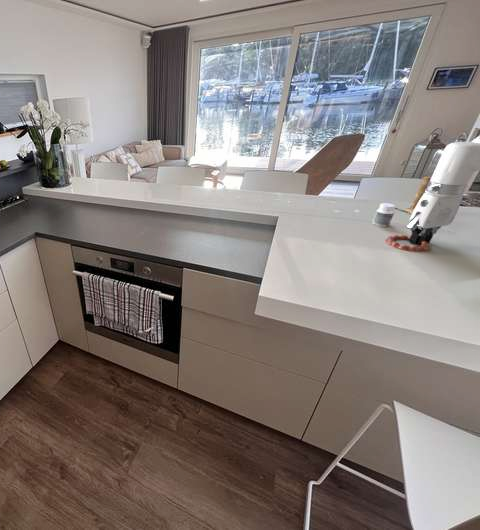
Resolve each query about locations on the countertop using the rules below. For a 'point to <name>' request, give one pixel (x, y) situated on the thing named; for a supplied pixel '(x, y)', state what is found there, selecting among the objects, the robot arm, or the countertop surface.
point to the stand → (419, 193)
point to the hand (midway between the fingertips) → (417, 244)
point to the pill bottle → (384, 215)
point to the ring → (391, 241)
